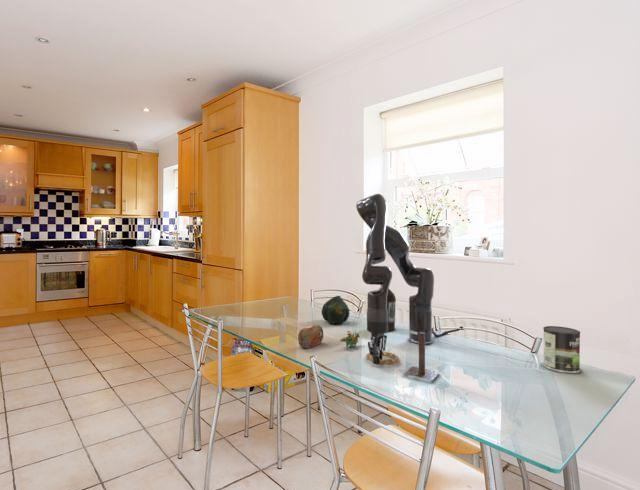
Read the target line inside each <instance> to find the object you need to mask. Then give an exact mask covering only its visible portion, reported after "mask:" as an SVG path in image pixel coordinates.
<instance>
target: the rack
mask: <svg viewBox="0 0 640 490" xmlns="http://www.w3.org/2000/svg"><path fill="white" fill-rule="evenodd" d="M404 375H408V376H412V377H417V378H421V379H426V380H429V381H430V380H431V384H433V383H434V382H435V381H436V380H437V379H438V377H439V376H440V371H436V370H432V369H427V368H426V344H425V333H424V332H419V344H418V367H417V366H411V367H410V368H409V369H408V370H407V371H405V372H404Z"/></svg>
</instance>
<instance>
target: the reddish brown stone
mask: <svg viewBox="0 0 640 490" xmlns="http://www.w3.org/2000/svg"><path fill="white" fill-rule="evenodd" d="M323 339H324V330H323V328H322V327H321V325H315V324H313V325H310V326H307V327H303V328H301V329H300V330H299V332H298V334H297V341H298V342H297V343H298V345H299V346H300V347H301V348H304V349H310V348H313V347H316V346H318V345H321V343H322V342H323Z"/></svg>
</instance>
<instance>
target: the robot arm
mask: <svg viewBox="0 0 640 490" xmlns="http://www.w3.org/2000/svg"><path fill="white" fill-rule="evenodd" d="M355 205H356V206H355V207H356V211H357V213H358V215H359V217H360V218H361V219H362V220H363V221H364V223H365V224H366V226H368V228H369V229H370V231H369V233H368V235H367V238H366V241H365V253H366V254H365V263H364V267H363V270H362V274H361V278H362V282H363V283H364V284H366V285H372V286H374V285H375V286H380V287H381V288H380V289H379V288H378V289H374V290H370V291H368V292H367V294H366V295H367V297H366V299H367V302H366V303H367V309H366V330H367V332H369V333H370V334H371V335H370V341H368V342H367V347H368V352H369V353H370V355H373V362H372V364H373V365H380V364H379V363H380V361H379V359H383V356H382V354H383V352H386V346H387V339H388V335H386V334H387V333H389V331H388V310H387V294H388V289H390V286H391V282H392V279H393V270H392V268H390V267H389V266H387V265H377V264H381V263H383V262H385V261H386V258H387V257H386V255H387V254H388V255H389V256H390V258H391V259H392V261H393V263H394V264H395V266H396V267H397V269H398V271H399V273H400V275H401V276H402V278H403V280H404V281H405V284H407V285H408V286H409V287H411V288H416V289H417V293H415V294H412V295H410V296H409V297H408V317H409V318H408V320H409V321H408V323H409V324H408V325H409V327H408V331H409V333H408V340H409V342H411V343H414V344H418V345H419V332H424V333H425V345H429V344H430V345H431V344H432V343H433V336H434V337H436V338H440V337H443V336H444V335H446V334H451V333H455V332H459V331H460V330H461V329H462V328H464V326H459V327H458V328H461V329H458V328H456V329H451V330H446V331H443V332H442V333H440V334H437V333H436V332H435V331H434V327H433V307H432V306H433V305H432V304H433V303H432V302H433V298H434V290H435V276H434V273H433V271H432V270H431V269H430V268H427V267H418V266H415V265H414V264H413V261H411V259H410V244H409V242H408V241H407V239H406V238H405V236H404V235H403V234H402V232H400V231H399V230H398V229H396V228H394V227H391V226H390V225H388V224H387V219H388V203H387V200H386V198H385V197H384V195H383V194H381V193H375V194H372V195H368V196H366V197H365V198H362V199H360V200H358V201H357V202H356V204H355ZM386 253H387V254H386ZM381 285H382V286H381Z"/></svg>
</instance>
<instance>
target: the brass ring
mask: <svg viewBox="0 0 640 490" xmlns="http://www.w3.org/2000/svg"><path fill="white" fill-rule="evenodd" d="M382 357H387V358H389V359H386V358H385V359H383V358H382V359H379V361H380V363H379V364H378V365H393V364H397V363H399V362H400V358H399V357H398V356H397V354H395V353H392V352H388V351H383V354H382ZM365 358H366V360H367V361H369V362H371V363H373V355H370V352H369V353H367V354H366V355H365Z"/></svg>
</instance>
